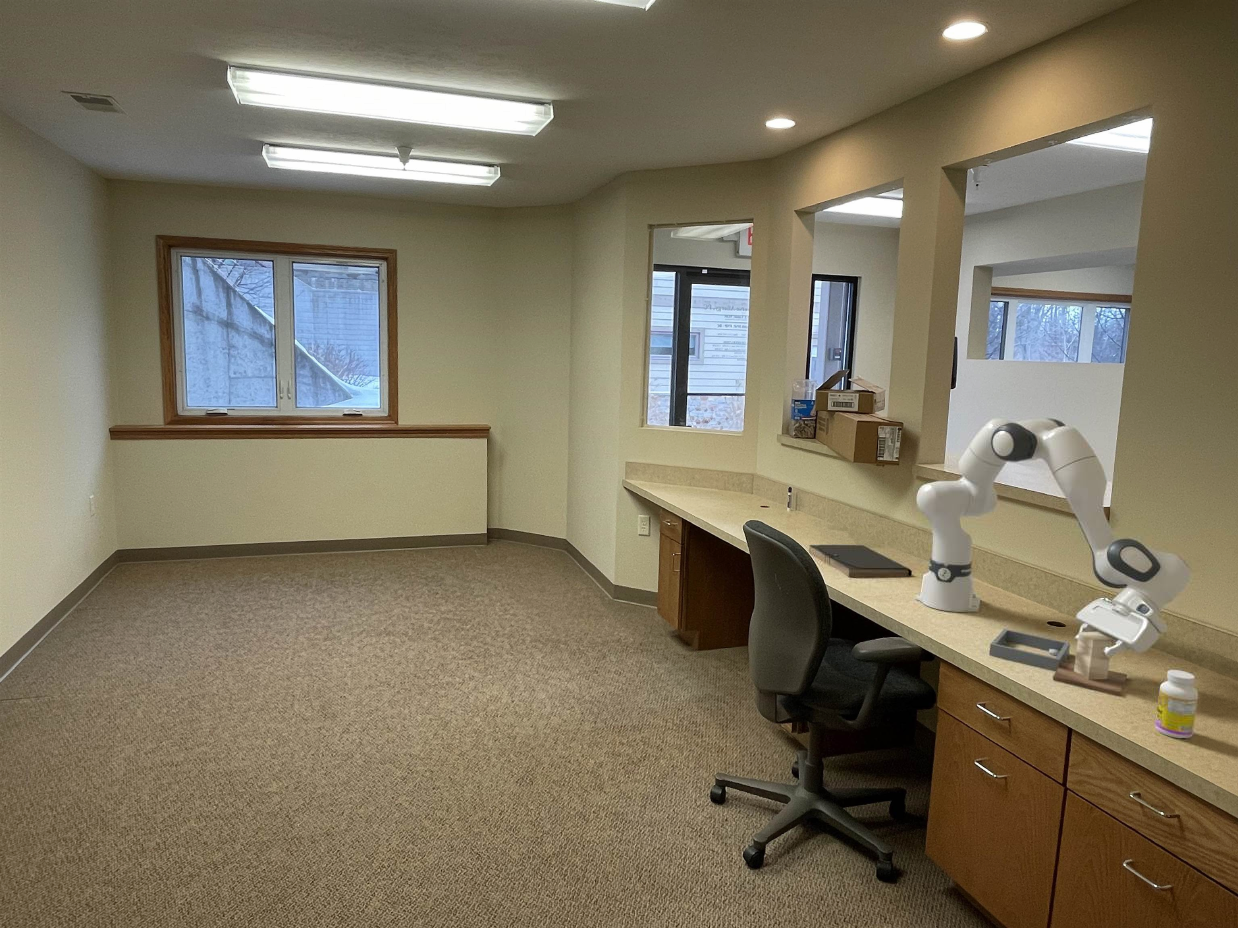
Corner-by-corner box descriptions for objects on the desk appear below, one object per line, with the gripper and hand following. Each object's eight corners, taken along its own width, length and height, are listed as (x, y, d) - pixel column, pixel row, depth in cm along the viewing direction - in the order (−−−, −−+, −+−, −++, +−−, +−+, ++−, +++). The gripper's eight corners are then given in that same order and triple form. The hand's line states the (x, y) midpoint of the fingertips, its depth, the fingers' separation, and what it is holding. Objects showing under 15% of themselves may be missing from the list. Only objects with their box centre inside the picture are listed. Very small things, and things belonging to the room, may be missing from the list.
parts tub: (1003, 639, 226) (1004, 628, 225) (1068, 653, 216) (1070, 642, 216) (989, 654, 213) (990, 643, 213) (1057, 671, 204) (1059, 659, 203)
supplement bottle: (1156, 722, 177) (1164, 665, 175) (1193, 732, 173) (1202, 673, 171) (1152, 732, 172) (1160, 673, 170) (1190, 743, 168) (1199, 683, 166)
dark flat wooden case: (808, 543, 314) (866, 544, 319) (807, 554, 315) (865, 554, 319) (848, 567, 282) (912, 567, 287) (847, 578, 282) (911, 578, 287)
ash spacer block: (1073, 671, 202) (1078, 632, 200) (1092, 670, 202) (1097, 631, 201) (1088, 679, 197) (1093, 639, 195) (1107, 678, 197) (1112, 639, 196)
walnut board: (1062, 663, 209) (1063, 659, 209) (1126, 678, 201) (1127, 674, 201) (1052, 679, 198) (1053, 675, 198) (1120, 696, 190) (1120, 692, 190)
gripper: (1095, 587, 208) (1055, 624, 208) (1158, 613, 188) (1114, 655, 188) (1109, 604, 209) (1069, 641, 209) (1173, 632, 189) (1129, 673, 189)
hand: (1091, 648), depth 198 cm, fingers open, 8 cm apart
